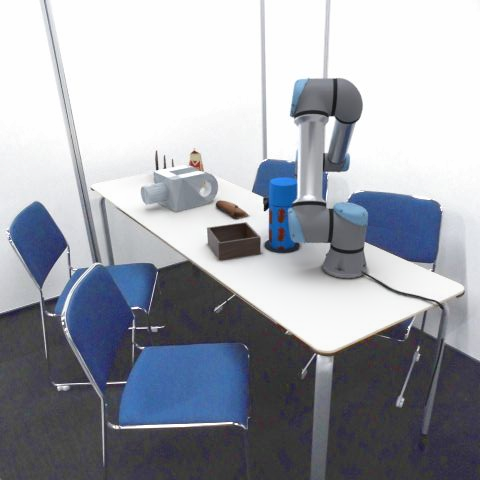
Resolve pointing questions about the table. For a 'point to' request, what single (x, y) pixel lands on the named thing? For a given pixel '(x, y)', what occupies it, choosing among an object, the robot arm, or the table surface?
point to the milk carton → (196, 161)
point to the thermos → (281, 211)
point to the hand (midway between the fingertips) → (281, 209)
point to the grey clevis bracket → (180, 188)
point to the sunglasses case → (231, 209)
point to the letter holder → (164, 162)
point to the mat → (281, 250)
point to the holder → (233, 241)
